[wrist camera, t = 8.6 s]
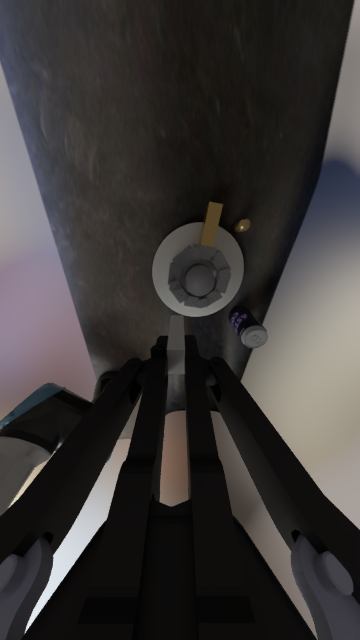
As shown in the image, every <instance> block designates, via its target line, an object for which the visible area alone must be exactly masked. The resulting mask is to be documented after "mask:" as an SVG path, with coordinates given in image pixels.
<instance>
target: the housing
mask: <svg viewBox="0 0 360 640" xmlns="http://www.w3.org/2000/svg"><path fill="white" fill-rule="evenodd" d="M202 225H203V222H197V223H190V224H187V225H184V226H182V227H179V228H178V229H176V230H174V231H173V232H172V233H170V234H169V235H168V236H167V237H166V238H165V239H164V240H163V242H162V243H161V245H160V246H159V248H158V250H157V252H156V255H155V257H154V261H153V268H152V277H153V283H154V286H155V289H156V291H157V294H158V295H159V297H160V298H161V300H162V301H163V302H164V303H165V304H166V305H167V306H168V307H169V308H170V309H172V310H174V311H175V312H177V313H180V314H182V315H186V316H193V317H198V316H205V315H209V314H212V313H214V312H217V311H218V310H220V309H222V308H223V307H224V306H226V305H227V304H228V303H229V302H230V301H231V300H232V299H233V297H234V296H235V295H236V293H237V291H238V289H239V287H240V285H241V282H242V278H243V273H244V261H243V255H242V252H241V249H240V247H239V245H238V243H237V242H236V240H235V239H234V238H233V237H232V235H231V234H230V233H228V232H227V231H226V230H225V229H223V228H221V227H219V226H218V228H217V232H216V237H215V241H214V245H213V247H217V250H221V252H222V253H223V255H224V257H225V259H226V261H227V263H228V264H229V266H230V268H231V270H230V273H231V277H230V280H229V284H228V287H227V290H226V293H225V294H224V293H220V294H221V295H222V298H220V299H219V300H217V301H216V302H214V303H213V304H211V305H209V306H208V307H204V308H196V307H189V306H184V302H182V303H181V304H180V303H179V301H178V300H177V299H176V298H175V296H174V295H173V294H172V292H171V291H170V290H169V286H170V285H167V284H168V276H169V267H170V263H171V262H174V261H173V260H172V259H173V258H174V257H175V256H176V255H177V254H178V253H180V252H181V251H182V250H183V249H185V248H186V247H187V246H188V245H190V246H191V247H192V248H193V246H194V244H199V240H200V235H201V230H202ZM217 250H216V251H217ZM215 276H216V270H215V268H214V267H213V265H212V263H211V262H210V260H204V259H194V260H192V261H190V262H189V263H188V264H186V265H185V266H184V267H182V268H181V275H180V282H181V284H182V285H183V287H184V288H185V289H186V291H187V292H190V293H191V294H193V295H195V296H203V295H206V294H208V293H209V292H210V291H211V290H212V289H213V287H214V283H215Z"/></svg>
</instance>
